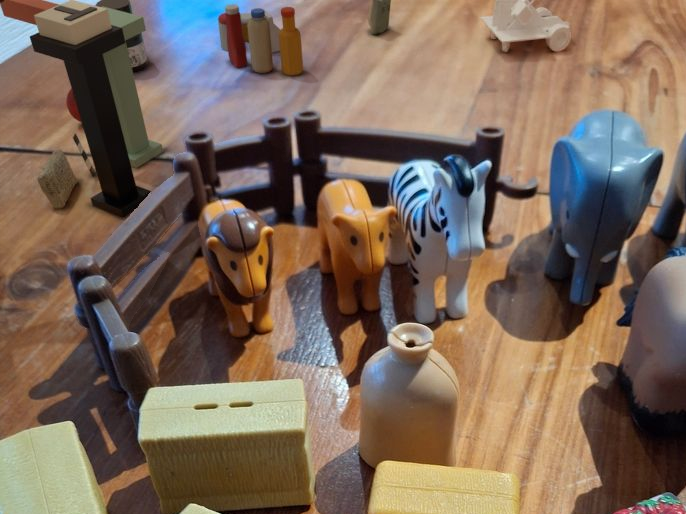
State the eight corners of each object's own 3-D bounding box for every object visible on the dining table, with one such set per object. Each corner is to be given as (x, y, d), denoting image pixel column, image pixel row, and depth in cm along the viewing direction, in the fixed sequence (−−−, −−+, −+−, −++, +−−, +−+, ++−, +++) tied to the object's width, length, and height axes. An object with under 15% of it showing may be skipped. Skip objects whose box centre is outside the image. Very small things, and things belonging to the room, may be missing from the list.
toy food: (308, 74, 153) (305, 10, 143) (252, 86, 149) (245, 21, 140) (261, 30, 168) (256, -30, 159) (209, 41, 165) (200, -21, 155)
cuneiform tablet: (95, 172, 127) (77, 209, 120) (72, 177, 128) (53, 214, 120) (75, 133, 122) (55, 168, 114) (51, 138, 123) (30, 174, 115)
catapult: (499, 60, 156) (512, -26, 144) (477, 35, 165) (487, -48, 153) (577, 51, 159) (595, -34, 146) (551, 27, 168) (566, -55, 155)
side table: (171, 151, 132) (143, 16, 115) (136, 172, 127) (102, 35, 110) (134, 138, 135) (102, 6, 118) (99, 159, 131) (61, 24, 114)
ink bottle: (107, 77, 153) (90, 13, 143) (102, 61, 158) (86, -1, 149) (153, 70, 155) (140, 7, 145) (146, 55, 160) (133, -7, 151)
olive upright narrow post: (390, 37, 165) (392, -3, 159) (367, 37, 165) (368, -3, 159) (390, 27, 169) (391, -12, 162) (367, 27, 169) (368, -12, 162)
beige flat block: (112, 28, 102) (107, 6, 100) (75, 45, 98) (69, 23, 96) (29, 6, 108) (22, -15, 106) (-9, 21, 104) (-16, -1, 102)
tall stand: (161, 198, 122) (122, 27, 102) (123, 223, 117) (75, 49, 97) (122, 183, 125) (77, 15, 105) (84, 207, 120) (29, 36, 100)
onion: (88, 134, 137) (75, 90, 130) (66, 126, 139) (53, 83, 132) (110, 122, 140) (98, 78, 134) (89, 114, 142) (76, 71, 136)
